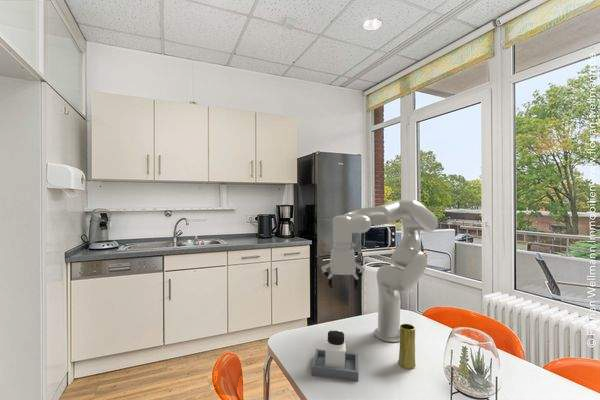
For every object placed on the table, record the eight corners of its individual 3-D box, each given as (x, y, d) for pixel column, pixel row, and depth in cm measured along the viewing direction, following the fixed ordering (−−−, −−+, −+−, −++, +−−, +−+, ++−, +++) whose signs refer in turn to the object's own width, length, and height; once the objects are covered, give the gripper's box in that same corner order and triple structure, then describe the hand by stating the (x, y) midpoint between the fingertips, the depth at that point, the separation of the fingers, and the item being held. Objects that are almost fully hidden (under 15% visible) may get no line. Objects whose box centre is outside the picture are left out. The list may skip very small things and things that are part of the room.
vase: (407, 371, 104) (408, 331, 104) (394, 362, 110) (395, 324, 109) (419, 366, 107) (420, 328, 107) (406, 358, 112) (406, 321, 112)
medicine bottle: (345, 371, 101) (346, 337, 101) (324, 369, 102) (325, 335, 102) (345, 360, 108) (345, 328, 108) (326, 358, 109) (326, 326, 109)
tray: (357, 361, 110) (357, 353, 109) (358, 381, 98) (358, 372, 98) (315, 356, 112) (316, 348, 112) (311, 375, 101) (311, 366, 101)
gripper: (363, 244, 120) (364, 285, 120) (321, 244, 122) (322, 284, 123) (365, 248, 112) (365, 291, 113) (320, 247, 115) (321, 290, 115)
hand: (343, 287), depth 118 cm, fingers open, 9 cm apart
